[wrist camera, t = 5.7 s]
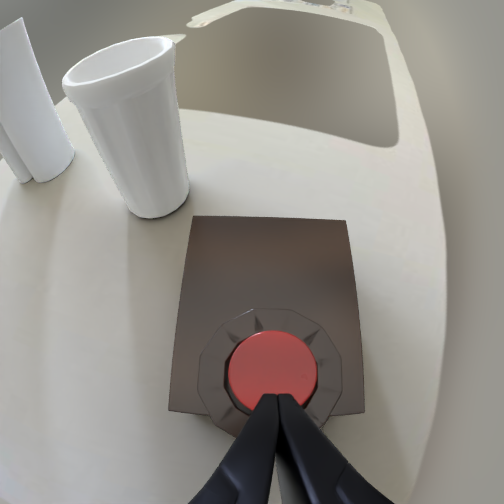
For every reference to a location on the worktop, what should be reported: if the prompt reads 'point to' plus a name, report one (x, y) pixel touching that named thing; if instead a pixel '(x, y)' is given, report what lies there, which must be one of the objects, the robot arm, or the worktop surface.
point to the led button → (272, 368)
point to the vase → (28, 113)
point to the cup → (134, 121)
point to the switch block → (266, 311)
